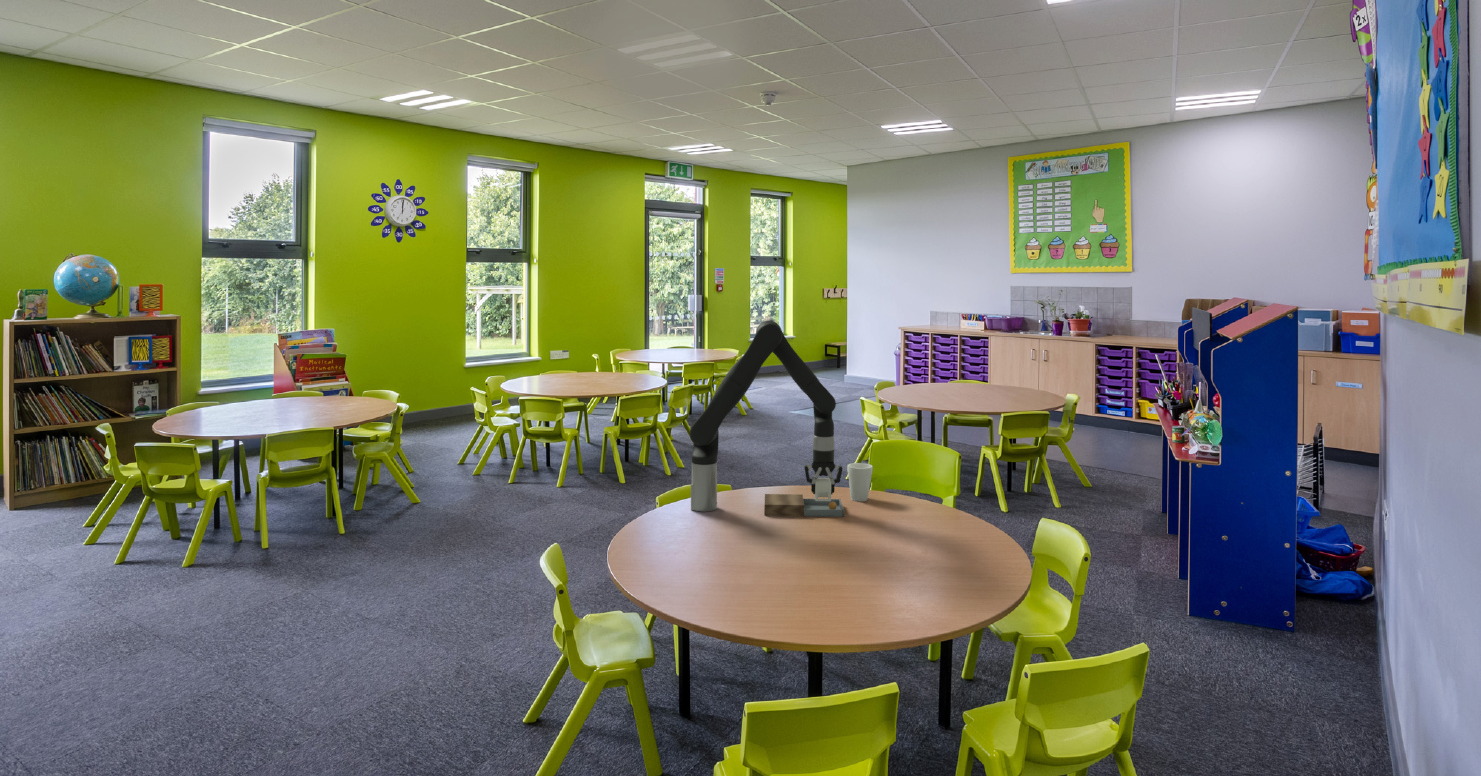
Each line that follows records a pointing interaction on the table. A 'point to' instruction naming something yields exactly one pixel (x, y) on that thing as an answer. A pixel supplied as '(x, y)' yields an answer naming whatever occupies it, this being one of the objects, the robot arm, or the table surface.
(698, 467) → the robot arm
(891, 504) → the table surface
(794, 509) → the platform
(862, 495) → the foam cup
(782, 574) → the table surface
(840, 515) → the tray
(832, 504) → the ball
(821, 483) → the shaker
